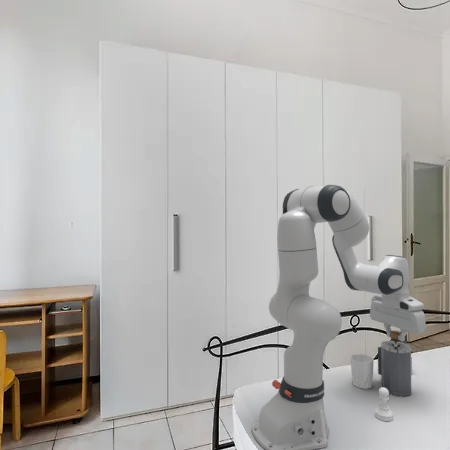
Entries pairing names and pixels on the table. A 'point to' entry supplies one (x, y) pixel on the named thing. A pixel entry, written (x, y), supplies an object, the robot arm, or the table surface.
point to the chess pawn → (384, 406)
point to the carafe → (395, 368)
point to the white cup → (362, 370)
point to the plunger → (395, 337)
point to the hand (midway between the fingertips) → (395, 338)
